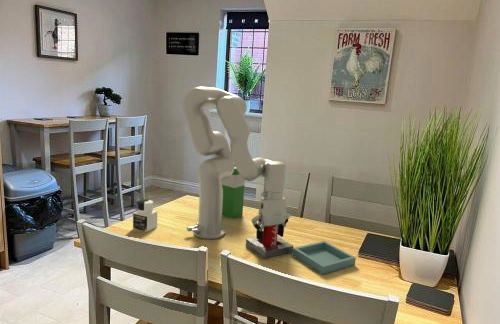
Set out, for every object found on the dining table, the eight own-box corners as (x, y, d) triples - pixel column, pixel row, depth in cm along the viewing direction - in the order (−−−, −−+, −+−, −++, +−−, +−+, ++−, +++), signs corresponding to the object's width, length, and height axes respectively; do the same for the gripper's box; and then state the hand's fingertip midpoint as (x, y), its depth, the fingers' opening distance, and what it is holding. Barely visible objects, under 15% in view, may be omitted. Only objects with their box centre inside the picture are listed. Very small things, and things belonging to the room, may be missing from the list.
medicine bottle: (132, 229, 149) (132, 201, 147) (143, 223, 156) (144, 197, 153) (146, 232, 147) (147, 204, 144) (157, 227, 153) (157, 199, 151)
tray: (322, 275, 121) (323, 266, 121) (292, 255, 134) (292, 248, 134) (354, 265, 130) (355, 257, 129) (323, 248, 143) (324, 240, 142)
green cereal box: (205, 209, 179) (207, 162, 174) (215, 206, 185) (217, 160, 180) (232, 219, 169) (235, 169, 164) (242, 215, 175) (245, 166, 170)
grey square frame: (264, 259, 130) (265, 252, 129) (245, 245, 140) (246, 238, 140) (292, 253, 137) (293, 245, 136) (272, 240, 147) (273, 233, 147)
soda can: (271, 254, 135) (274, 223, 132) (259, 250, 137) (261, 220, 135) (278, 249, 139) (281, 219, 137) (266, 245, 142) (268, 216, 140)
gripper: (259, 199, 126) (256, 245, 130) (297, 194, 136) (293, 237, 139) (248, 194, 133) (245, 237, 136) (285, 189, 142) (282, 230, 145)
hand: (269, 237), depth 137 cm, fingers open, 9 cm apart
